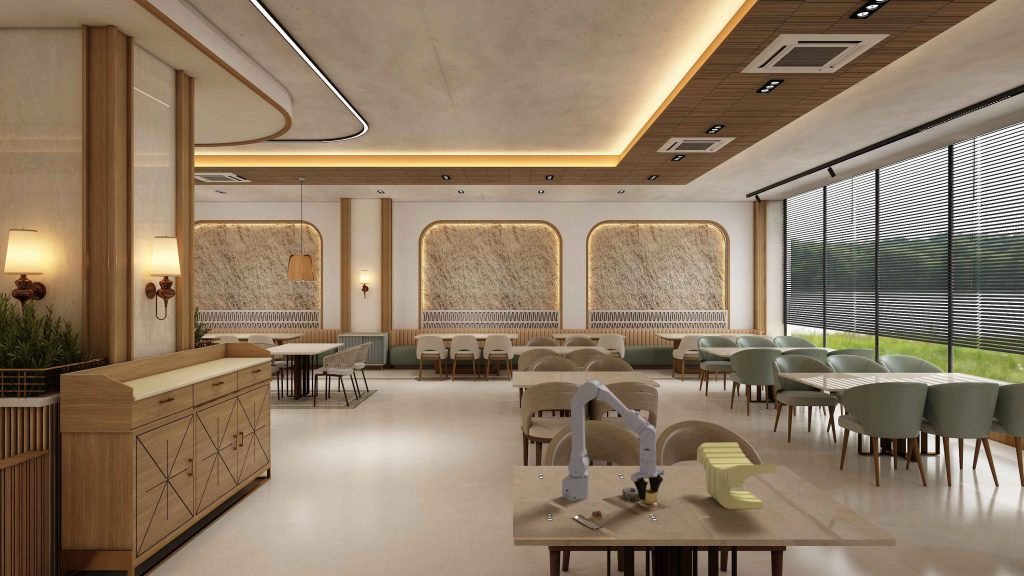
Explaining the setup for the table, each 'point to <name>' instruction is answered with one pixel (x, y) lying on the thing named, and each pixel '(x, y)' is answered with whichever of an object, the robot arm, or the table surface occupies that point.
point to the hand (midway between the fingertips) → (647, 498)
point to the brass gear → (650, 497)
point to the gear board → (633, 502)
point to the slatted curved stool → (729, 474)
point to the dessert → (595, 515)
